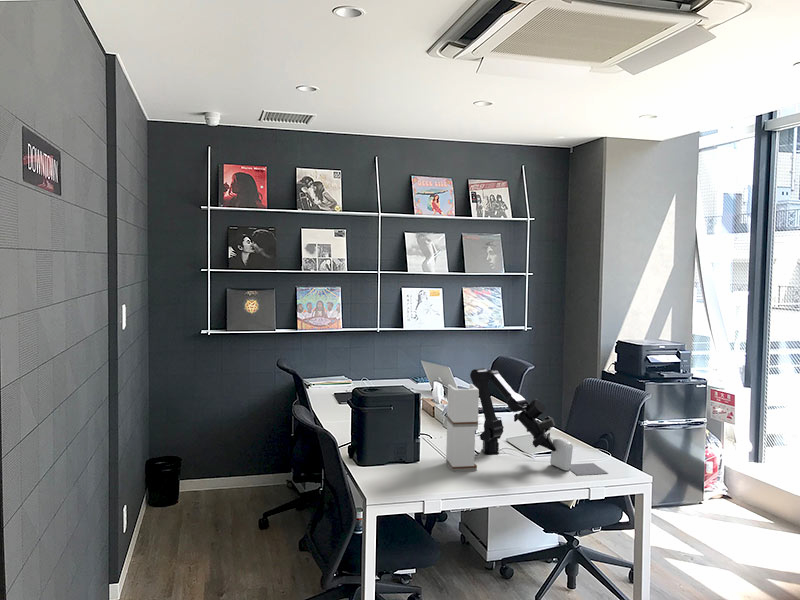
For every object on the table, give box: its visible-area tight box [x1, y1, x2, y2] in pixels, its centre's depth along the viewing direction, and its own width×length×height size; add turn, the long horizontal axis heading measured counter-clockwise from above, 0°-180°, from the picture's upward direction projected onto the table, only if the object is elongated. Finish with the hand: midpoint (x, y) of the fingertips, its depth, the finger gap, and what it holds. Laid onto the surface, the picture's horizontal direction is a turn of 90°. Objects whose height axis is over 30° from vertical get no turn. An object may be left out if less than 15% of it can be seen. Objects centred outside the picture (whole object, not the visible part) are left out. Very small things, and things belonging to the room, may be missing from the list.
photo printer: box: [549, 437, 574, 471], centre depth 291 cm, size 10×4×12 cm, turn 26°
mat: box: [568, 462, 609, 476], centre depth 290 cm, size 14×13×1 cm
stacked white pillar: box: [445, 383, 480, 473], centre depth 289 cm, size 11×11×35 cm
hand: (555, 450), depth 291 cm, fingers closed
